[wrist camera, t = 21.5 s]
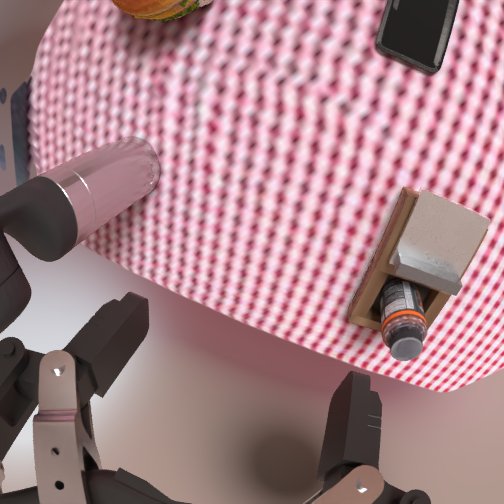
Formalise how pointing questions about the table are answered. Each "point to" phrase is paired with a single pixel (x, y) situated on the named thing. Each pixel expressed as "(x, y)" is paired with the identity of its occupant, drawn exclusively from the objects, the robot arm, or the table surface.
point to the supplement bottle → (402, 319)
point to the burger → (159, 8)
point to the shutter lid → (438, 241)
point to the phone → (417, 31)
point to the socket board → (393, 274)
